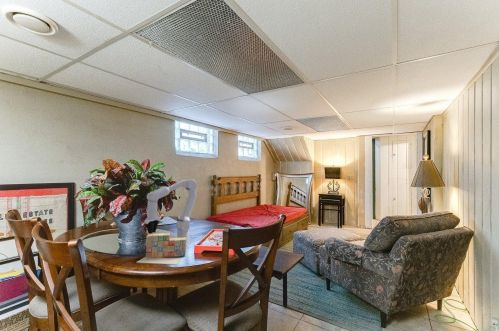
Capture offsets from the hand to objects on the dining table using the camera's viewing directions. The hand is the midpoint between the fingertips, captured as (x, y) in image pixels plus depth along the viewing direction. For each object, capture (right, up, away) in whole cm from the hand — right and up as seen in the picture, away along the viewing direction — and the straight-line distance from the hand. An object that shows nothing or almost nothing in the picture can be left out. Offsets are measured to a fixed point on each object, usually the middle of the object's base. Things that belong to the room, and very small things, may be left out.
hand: (152, 233), depth 145 cm
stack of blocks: (+13, -10, -11) cm, 19 cm away
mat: (+12, -10, -19) cm, 24 cm away
